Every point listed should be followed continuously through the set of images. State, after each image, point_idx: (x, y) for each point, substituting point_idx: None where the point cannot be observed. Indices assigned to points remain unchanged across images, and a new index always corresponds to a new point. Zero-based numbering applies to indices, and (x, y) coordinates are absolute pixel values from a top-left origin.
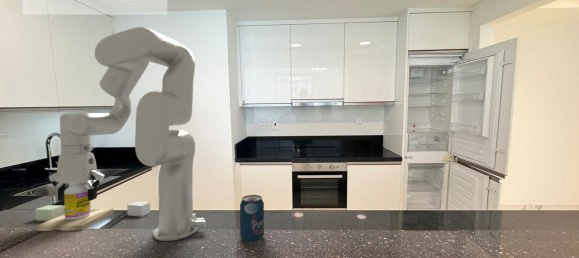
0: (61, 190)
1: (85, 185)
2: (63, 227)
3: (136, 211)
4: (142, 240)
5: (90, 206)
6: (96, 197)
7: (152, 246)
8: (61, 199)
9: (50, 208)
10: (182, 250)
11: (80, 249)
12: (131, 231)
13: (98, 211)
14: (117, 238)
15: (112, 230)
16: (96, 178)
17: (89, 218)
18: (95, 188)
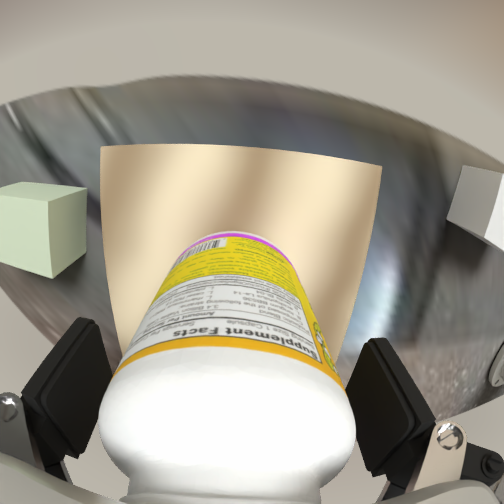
0: (78, 440)
1: (318, 481)
2: None
3: (488, 243)
4: (472, 386)
5: (303, 288)
6: (384, 341)
7: (478, 396)
8: (108, 379)
9: (29, 254)
10: (500, 393)
11: None
12: (462, 358)
13: (307, 200)
14: (435, 391)
15: (422, 360)
16: (480, 496)
17: (319, 315)
18: (426, 436)
